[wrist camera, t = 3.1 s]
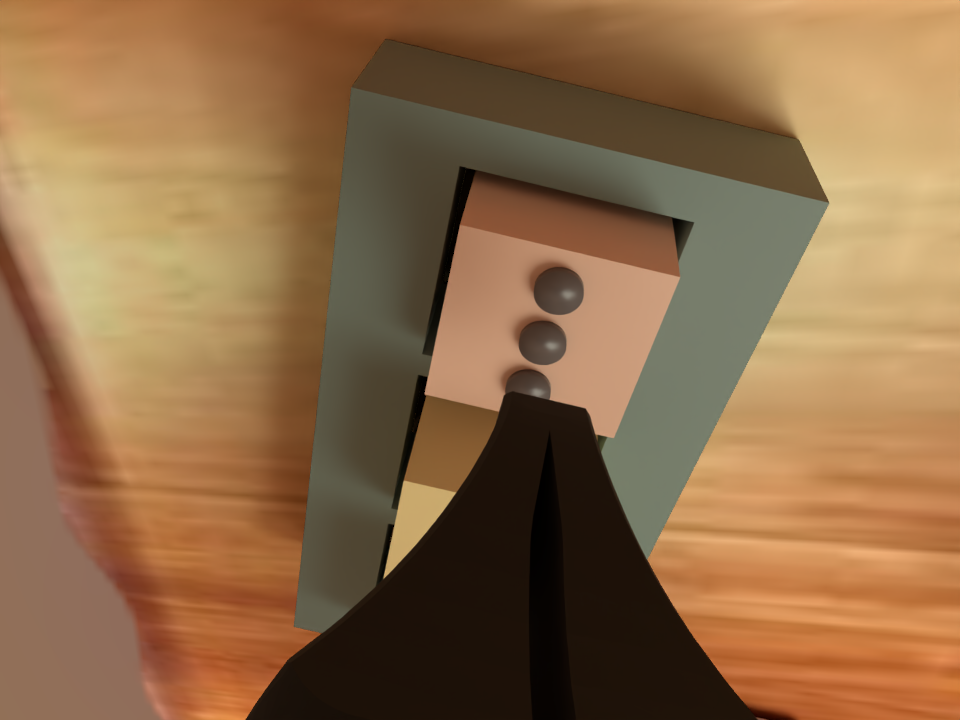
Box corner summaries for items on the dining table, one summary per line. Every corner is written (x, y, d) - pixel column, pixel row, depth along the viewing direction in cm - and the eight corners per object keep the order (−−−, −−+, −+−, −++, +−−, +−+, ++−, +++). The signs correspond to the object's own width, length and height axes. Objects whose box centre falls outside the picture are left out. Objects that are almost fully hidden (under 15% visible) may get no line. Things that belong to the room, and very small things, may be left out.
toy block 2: (557, 495, 23) (547, 644, 19) (414, 463, 23) (377, 606, 19) (598, 386, 20) (596, 532, 17) (438, 349, 20) (401, 487, 17)
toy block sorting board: (581, 609, 28) (580, 690, 26) (320, 550, 28) (294, 626, 25) (799, 139, 18) (828, 203, 15) (385, 38, 18) (351, 87, 15)
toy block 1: (611, 316, 21) (613, 444, 17) (455, 279, 21) (422, 400, 17) (665, 171, 18) (681, 283, 15) (488, 128, 18) (458, 230, 14)
